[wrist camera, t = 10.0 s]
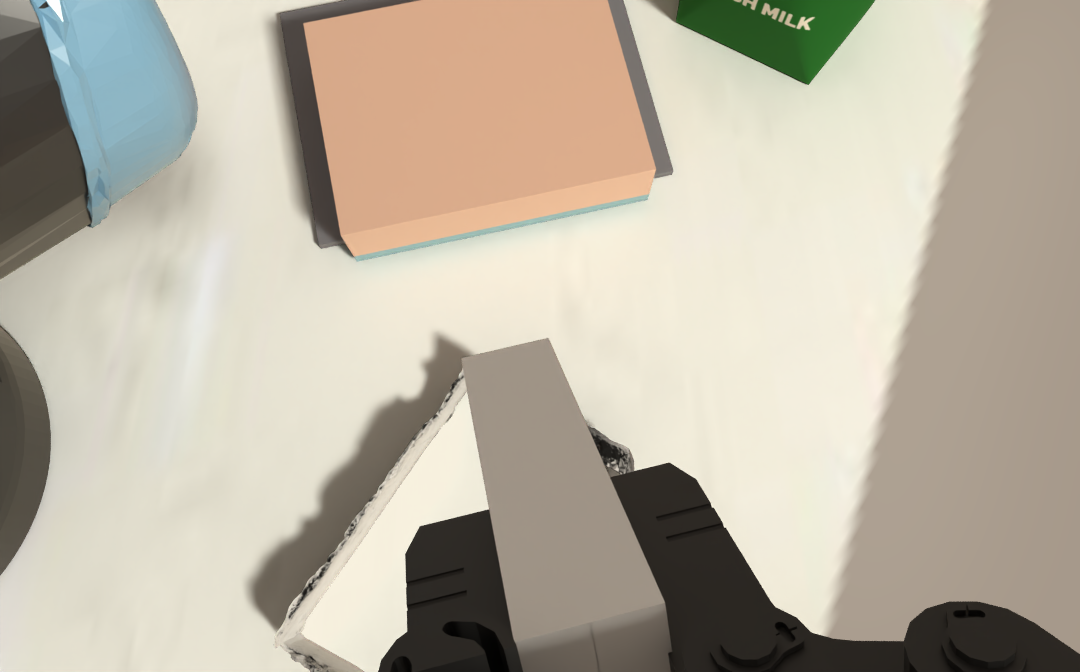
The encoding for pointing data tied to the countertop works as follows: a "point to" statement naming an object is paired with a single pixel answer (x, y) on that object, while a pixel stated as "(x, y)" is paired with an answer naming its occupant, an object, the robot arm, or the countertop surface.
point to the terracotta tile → (474, 118)
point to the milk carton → (777, 29)
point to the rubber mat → (311, 121)
